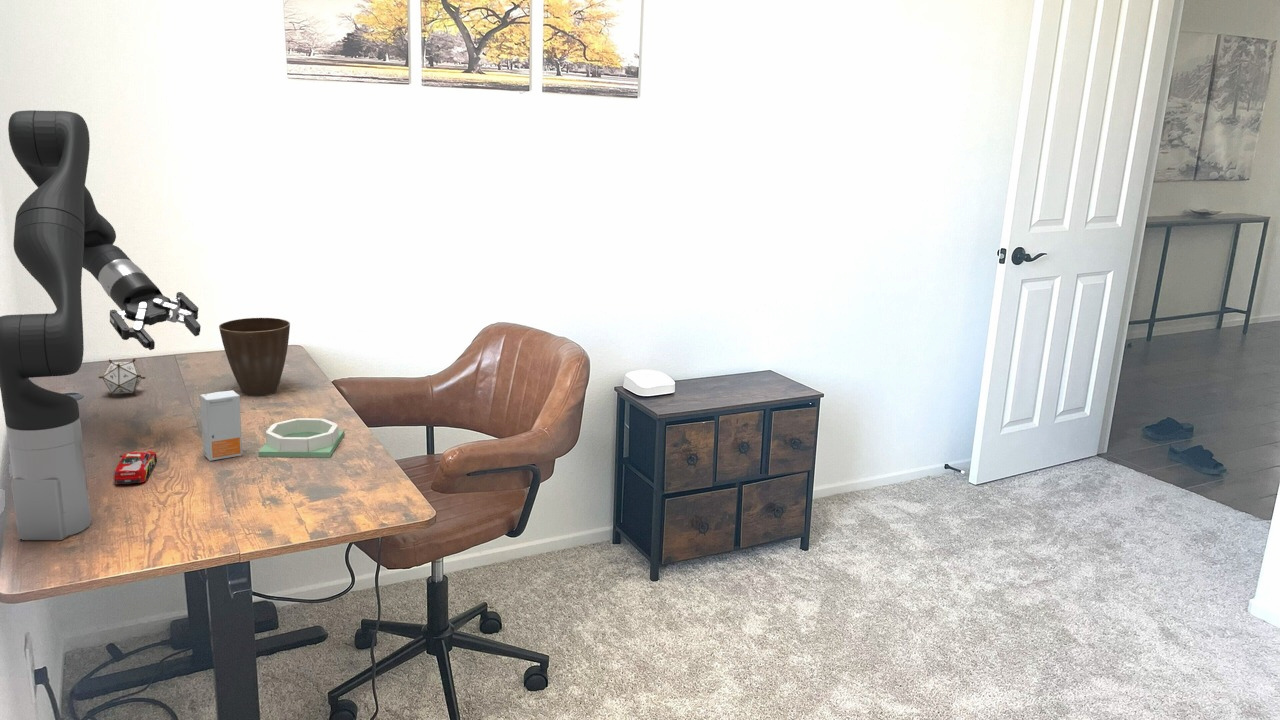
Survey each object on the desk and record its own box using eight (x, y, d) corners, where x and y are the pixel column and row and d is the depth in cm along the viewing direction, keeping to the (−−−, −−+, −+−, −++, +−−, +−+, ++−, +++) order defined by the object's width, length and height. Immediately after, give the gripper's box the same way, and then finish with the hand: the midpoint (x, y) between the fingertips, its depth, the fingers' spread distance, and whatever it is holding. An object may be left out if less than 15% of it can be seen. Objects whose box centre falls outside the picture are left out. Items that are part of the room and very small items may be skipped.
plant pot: (251, 405, 201) (246, 334, 198) (209, 392, 209) (204, 324, 205) (307, 390, 214) (303, 324, 210) (266, 379, 221) (262, 314, 217)
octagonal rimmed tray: (329, 457, 173) (329, 439, 172) (258, 456, 172) (257, 439, 171) (344, 434, 186) (343, 418, 185) (278, 434, 184) (277, 417, 183)
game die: (128, 412, 204) (119, 386, 197) (95, 396, 205) (85, 368, 197) (157, 385, 210) (149, 358, 202) (125, 369, 211) (116, 342, 203)
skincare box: (209, 462, 168) (205, 399, 165) (203, 455, 171) (198, 394, 168) (244, 455, 172) (240, 395, 169) (237, 449, 175) (233, 389, 172)
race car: (127, 462, 167) (125, 441, 166) (160, 460, 169) (158, 440, 168) (109, 489, 155) (107, 467, 154) (145, 487, 156) (143, 465, 155)
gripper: (90, 281, 167) (137, 335, 161) (166, 263, 177) (213, 313, 172) (90, 312, 171) (136, 366, 166) (165, 292, 182) (211, 342, 176)
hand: (175, 339), depth 169 cm, fingers open, 8 cm apart
